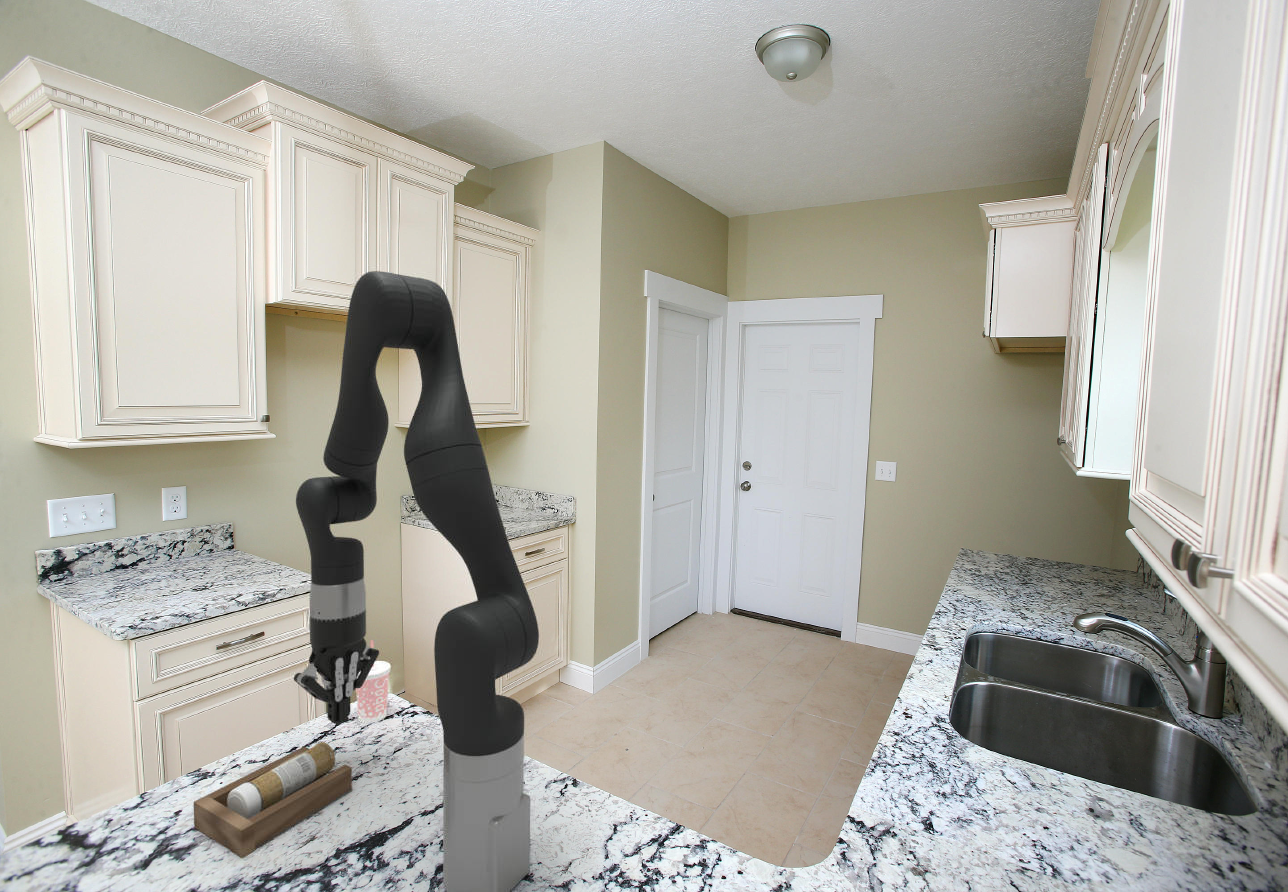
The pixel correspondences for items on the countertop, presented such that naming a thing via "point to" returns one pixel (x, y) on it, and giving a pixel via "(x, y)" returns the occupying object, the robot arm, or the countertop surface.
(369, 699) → the beverage cup
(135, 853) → the countertop surface
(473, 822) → the robot arm
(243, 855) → the u rest
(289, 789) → the sprinkles bottle
